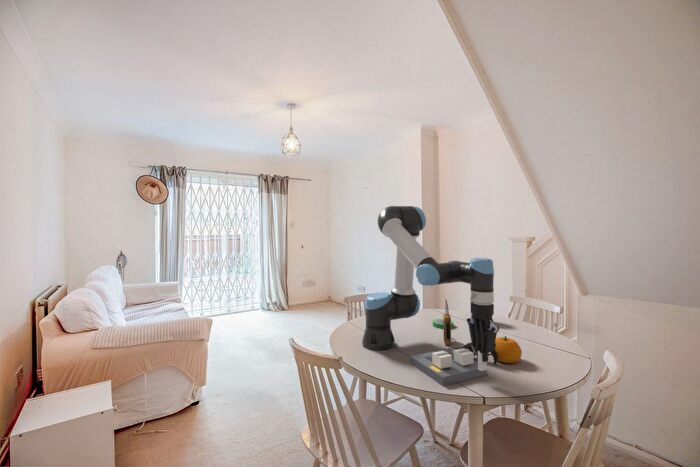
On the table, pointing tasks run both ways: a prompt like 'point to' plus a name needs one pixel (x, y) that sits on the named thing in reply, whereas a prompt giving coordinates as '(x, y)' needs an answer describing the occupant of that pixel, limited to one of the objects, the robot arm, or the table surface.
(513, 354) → the fruit
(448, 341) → the brown upright pointed stick
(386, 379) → the table surface
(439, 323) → the tape roll
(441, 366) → the tab
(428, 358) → the switch panel
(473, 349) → the gun
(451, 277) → the robot arm
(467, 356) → the tab
